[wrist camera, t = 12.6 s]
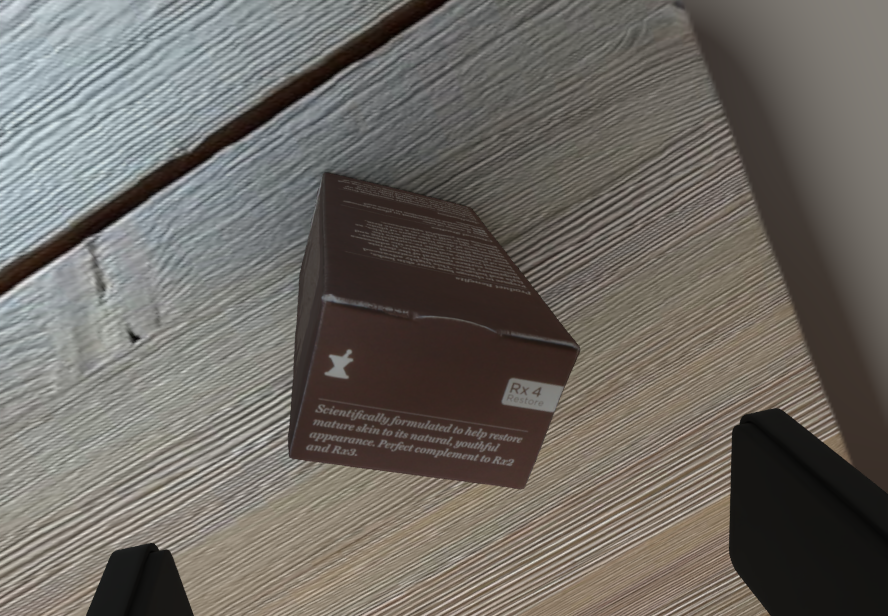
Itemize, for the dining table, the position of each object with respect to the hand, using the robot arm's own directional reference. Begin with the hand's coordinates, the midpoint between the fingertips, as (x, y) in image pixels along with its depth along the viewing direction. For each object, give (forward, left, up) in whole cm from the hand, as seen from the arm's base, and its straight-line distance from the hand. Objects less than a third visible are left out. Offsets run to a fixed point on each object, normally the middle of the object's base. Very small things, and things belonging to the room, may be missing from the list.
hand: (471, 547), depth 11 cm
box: (0, 0, -17) cm, 17 cm away
